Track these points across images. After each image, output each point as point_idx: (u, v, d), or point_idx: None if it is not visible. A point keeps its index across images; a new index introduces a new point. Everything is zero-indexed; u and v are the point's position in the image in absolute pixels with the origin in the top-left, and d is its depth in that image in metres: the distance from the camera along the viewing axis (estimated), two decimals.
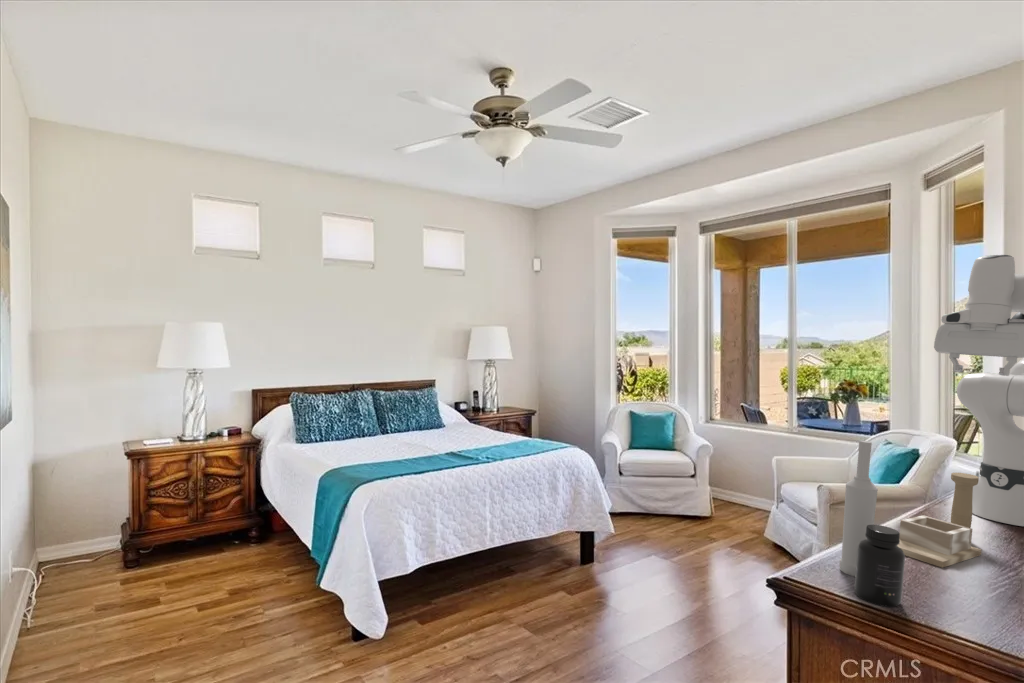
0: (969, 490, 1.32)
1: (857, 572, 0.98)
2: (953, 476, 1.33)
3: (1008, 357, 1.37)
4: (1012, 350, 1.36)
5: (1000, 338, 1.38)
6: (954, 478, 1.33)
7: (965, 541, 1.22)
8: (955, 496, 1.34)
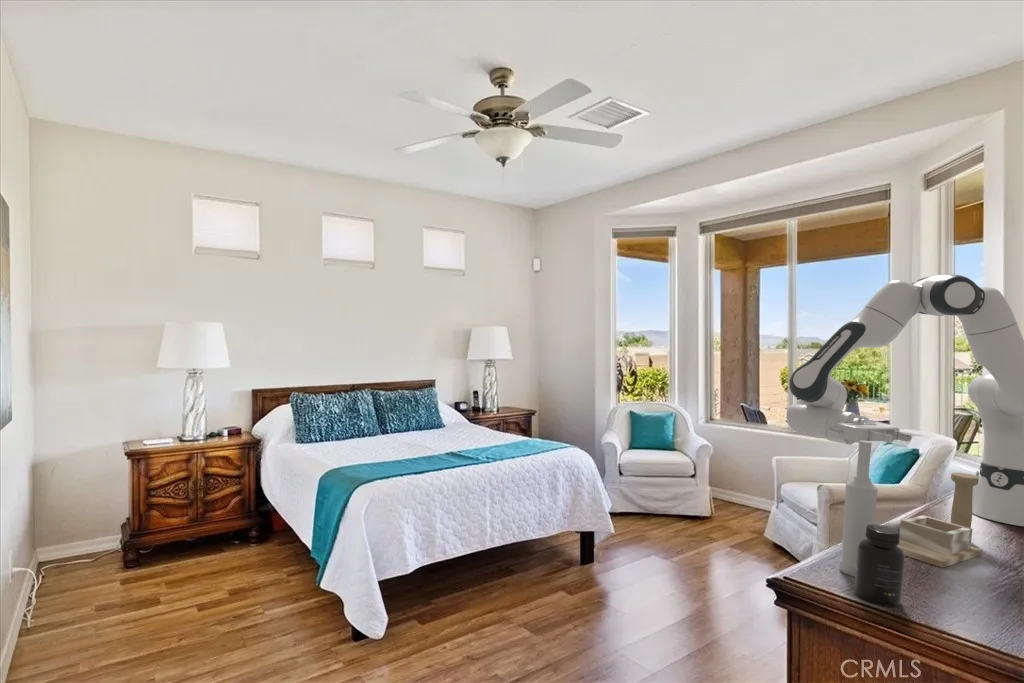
0: (969, 490, 1.32)
1: (857, 572, 0.98)
2: (953, 476, 1.33)
3: (871, 439, 1.46)
4: None
5: None
6: (954, 478, 1.33)
7: (965, 541, 1.22)
8: (955, 496, 1.34)
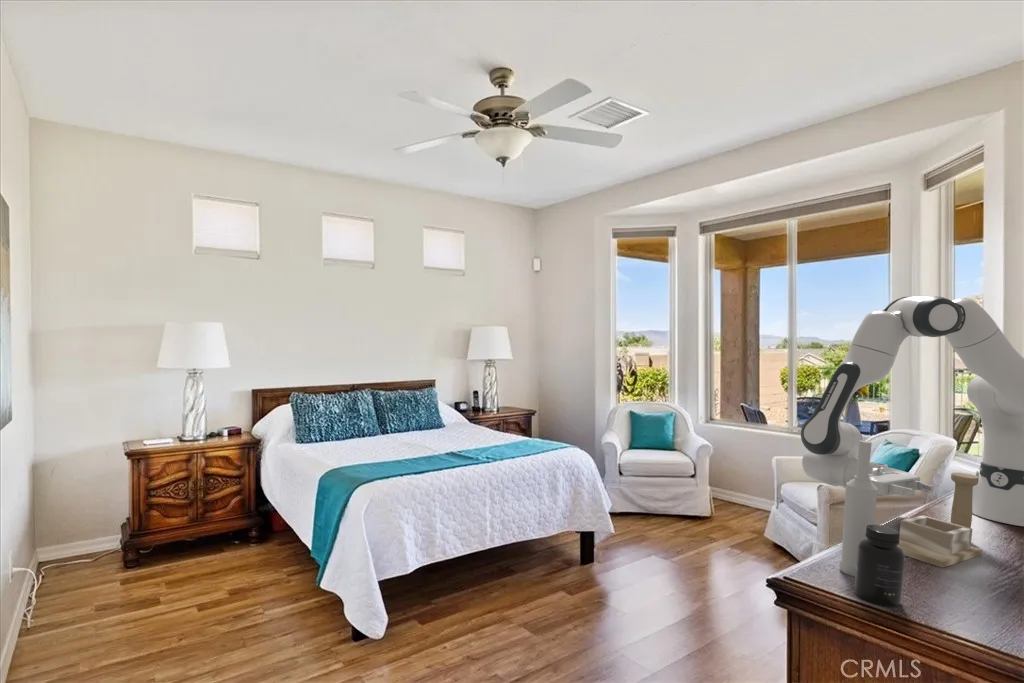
0: (969, 490, 1.32)
1: (857, 572, 0.98)
2: (953, 476, 1.33)
3: None
4: None
5: None
6: (954, 478, 1.33)
7: (965, 541, 1.22)
8: (955, 496, 1.34)
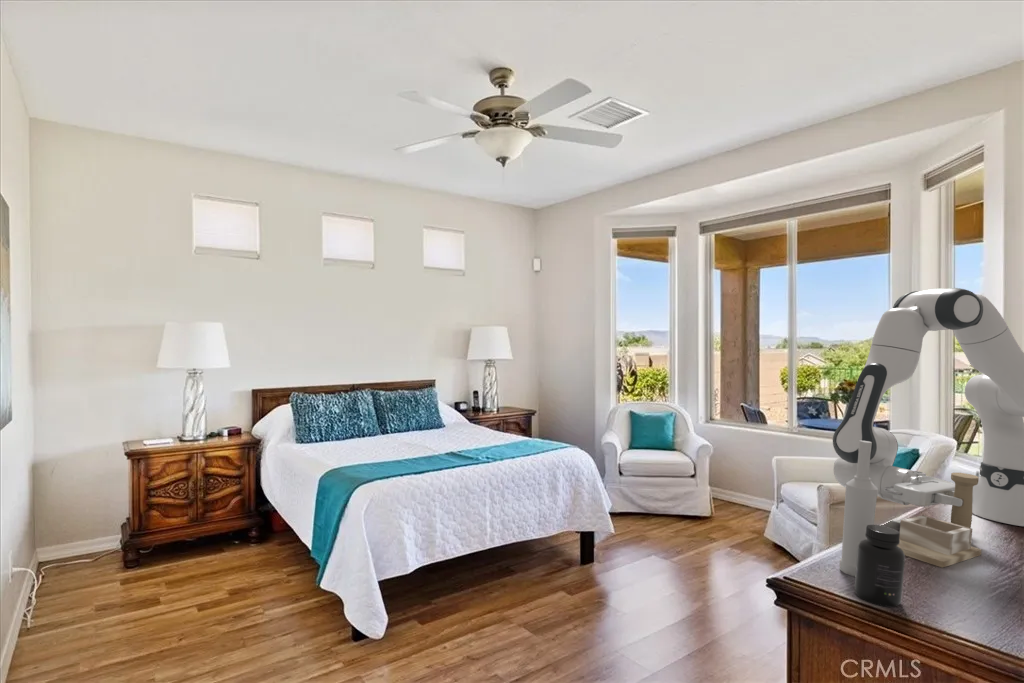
0: (969, 490, 1.32)
1: (857, 572, 0.98)
2: (953, 476, 1.33)
3: None
4: None
5: None
6: (954, 478, 1.33)
7: (965, 541, 1.22)
8: (955, 496, 1.34)
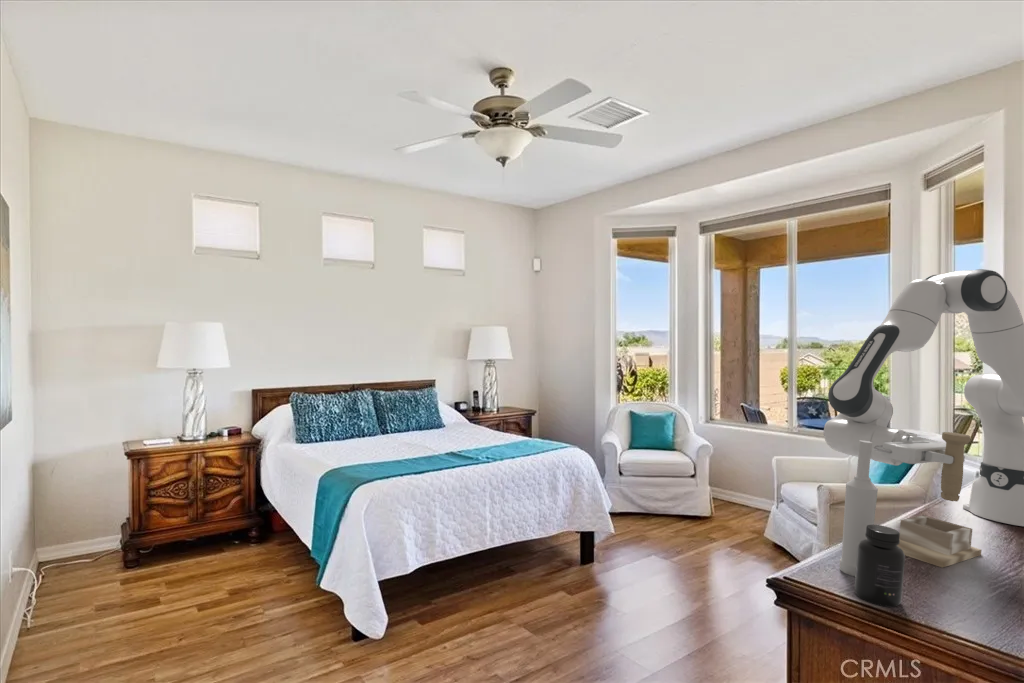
0: (960, 449, 1.28)
1: (857, 572, 0.98)
2: (944, 435, 1.29)
3: None
4: None
5: None
6: (945, 437, 1.29)
7: (965, 541, 1.22)
8: None
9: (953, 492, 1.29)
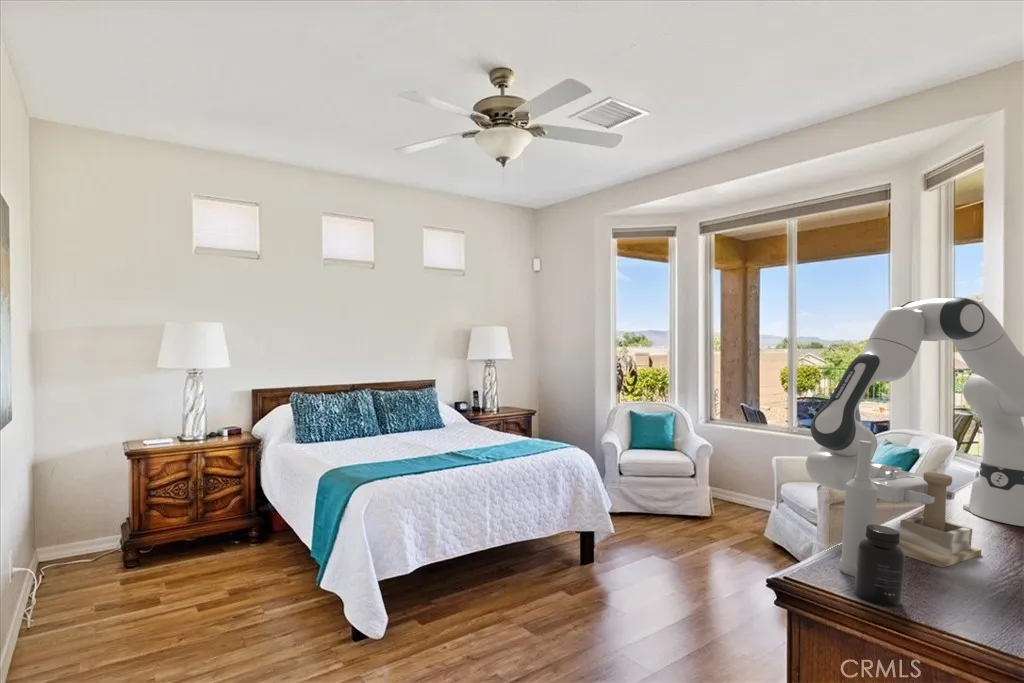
0: (942, 491, 1.24)
1: (857, 572, 0.98)
2: (926, 476, 1.25)
3: None
4: None
5: None
6: (927, 478, 1.25)
7: (965, 541, 1.22)
8: None
9: None
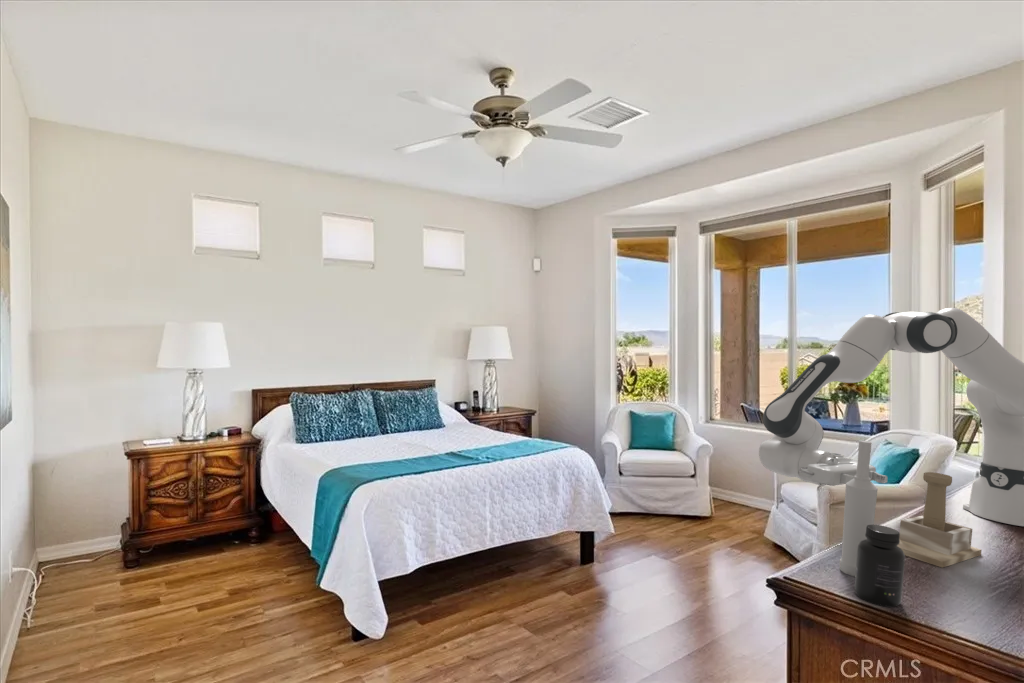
0: (942, 491, 1.24)
1: (857, 572, 0.98)
2: (926, 476, 1.25)
3: None
4: None
5: None
6: (927, 478, 1.25)
7: (965, 541, 1.22)
8: (928, 497, 1.26)
9: None
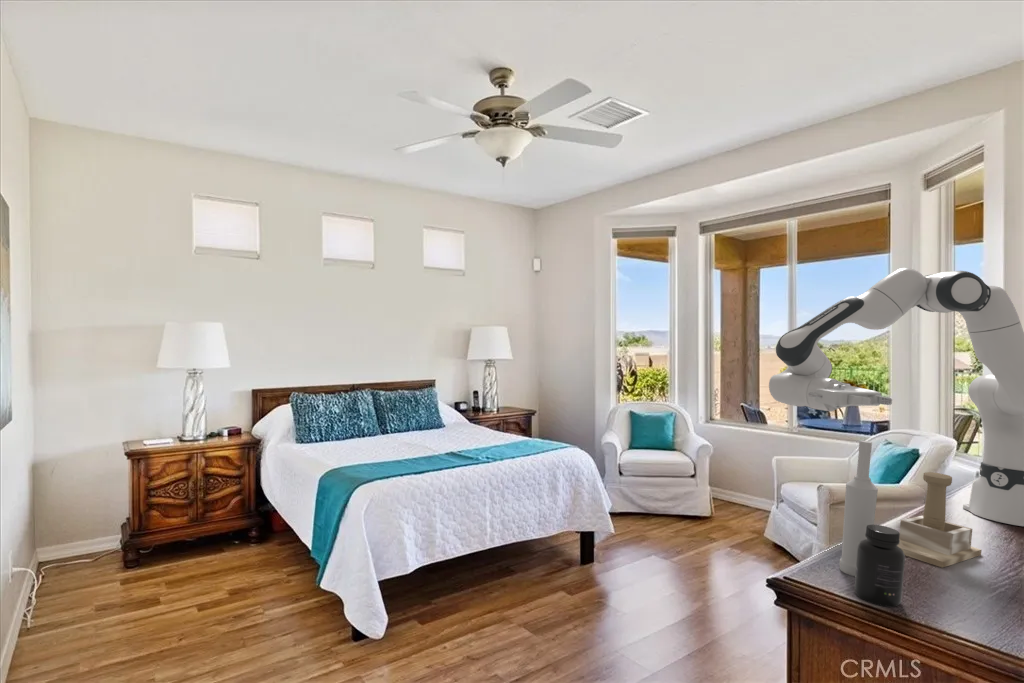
0: (942, 491, 1.24)
1: (857, 572, 0.98)
2: (926, 476, 1.25)
3: None
4: None
5: None
6: (927, 478, 1.25)
7: (965, 541, 1.22)
8: (928, 497, 1.26)
9: None
